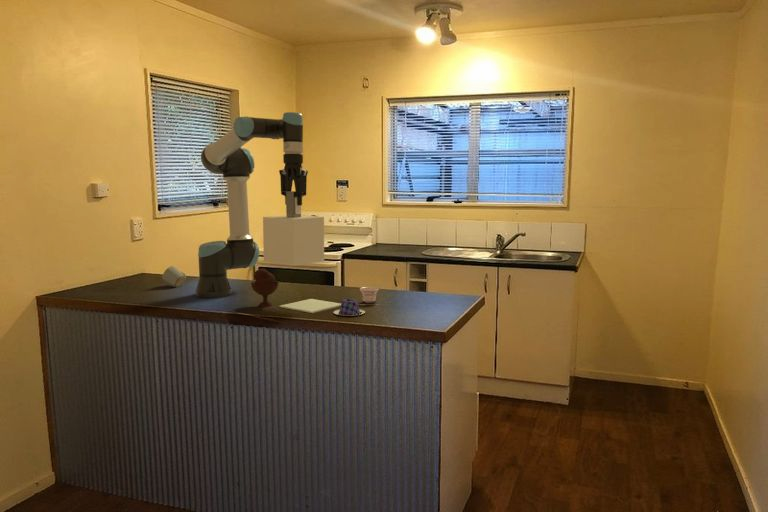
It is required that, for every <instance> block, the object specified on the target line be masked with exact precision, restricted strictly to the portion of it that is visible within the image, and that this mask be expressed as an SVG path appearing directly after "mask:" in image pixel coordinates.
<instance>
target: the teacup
mask: <svg viewBox="0 0 768 512" xmlns="http://www.w3.org/2000/svg"><path fill="white" fill-rule="evenodd" d="M379 290H380V289H379V288H378V287H376V286H375V287H374V286H362V287H360V288H359V291H360V292H361V295H362V301H363V302H364V303H367V304H372V303H374V302H375V301H376V300H377V293H378V292H379ZM359 305H360V306H364V304H362V303H361V304H360V303H359ZM375 305H379V303H377V304H375Z"/></svg>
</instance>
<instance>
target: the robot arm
mask: <svg viewBox="0 0 768 512" xmlns="http://www.w3.org/2000/svg"><path fill="white" fill-rule="evenodd" d="M282 115H283V116H282V118H281V119H278V118H264V117H263V118H262V117H254V116H253V117H252V116H238V117H236V118H235V119H234V121H233V124H232V125H233V127H232V129H230V130H229V131H228V132H226V133H225V134H224V135H222V136H221V137H220V138H219V139H218V140H216V141H215V142H214V143H213V142H212V143H209V144H207V145H206V146H205V147H204V148H203V149H202V151H201V154H200V160H201V164H202V165H203V167H204V168H205V169H206V170H208V172H211V173H212V174H218V175H219V174H220V175H222V177H223V178H222V179H223V180H224V181H225V182H226V186H227V187H226V189H227V203H228V204H227V205H228V220H229V221H228V222H229V223H228V224H229V236H228V237H227V238H226V241H225V240H216V241H215V240H213V241H207V242H204V243H202V244H200V245H199V246H198V254H197V256H198V277H199V279H198V282H197V285H196V289H195V296H196V297H198V298H203V299H204V298H205V299H207V298H209V299H210V298H211V299H212V298H213V299H214V298H225V297H227V296H230V295H232V287H231V284H230V281H229V280H228V276H227V275H228V274H227V273H228V272H227V271H229V270H237V269H238V270H239V269H247V268H248V269H249V268H253V267H254V266H255V265H256V264H257V263H258V260H259V257H260V248H259V245H258V243H257V242H255V241H254V237H253V236H252V235H250V234H251V233H250V222H249V221H250V218H249V202H248V184H247V182H248V181H249V179H250V177H251V174H252V173H253V172H254V170H255V159H254V156H253V154H252V152H251V151H250V150H249V149H247V148H245V147H244V148H242V147H243V146H244V145H246V144H247V143H249V141H251V140H253V139H254V138H257V139H258V138H260V139H271V140H281V139H282V142H283V151H282V152H283V159H282V161H283V164H284V168H283V169H279V170H278V172H279V177H280V194H281V196H284V199H285V200H284V201H285V202H284V204H285V205H286V191H293V190H292V189H293V184H294V189H295V190H294V191H296V196H295V214H301V215H302V206H303V197H305V196H306V195H307V177H308V173H309V171H308V169H304V168H303V165H302V164H303V163H304V155H303V154H302V153H304V143H303V142H304V141H303V140H304V135H303V134H304V121H303V114H302V113H300V112H294V111H293V112H291V111H290V112H288V111H287V112H284V113H283V114H282Z"/></svg>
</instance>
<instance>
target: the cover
mask: <svg viewBox="0 0 768 512" xmlns="http://www.w3.org/2000/svg"><path fill="white" fill-rule="evenodd" d="M295 196H296V191H295V190H291V191H286V204H285V215H273V216H272V215H271V216H262V231H263V232H262V233H263V234H262V235H263V236H262V237H263V242H262V243H263V262H264V263H268V264H269V263H270V264H277V265H285V266H293V267H296V266H303V265H309V264H315V263H321V262H322V263H323V262H325V216H317V215H316V216H314V215H313V216H312V215H302V213H301V214H295Z"/></svg>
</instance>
